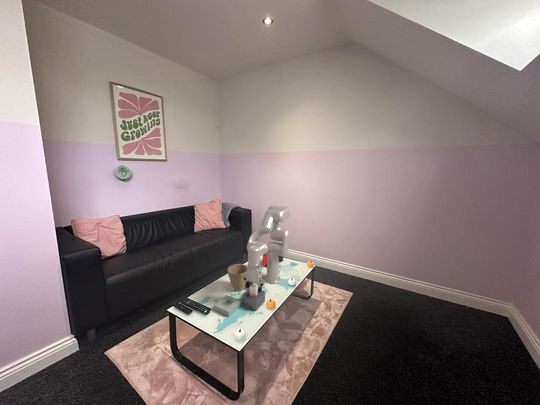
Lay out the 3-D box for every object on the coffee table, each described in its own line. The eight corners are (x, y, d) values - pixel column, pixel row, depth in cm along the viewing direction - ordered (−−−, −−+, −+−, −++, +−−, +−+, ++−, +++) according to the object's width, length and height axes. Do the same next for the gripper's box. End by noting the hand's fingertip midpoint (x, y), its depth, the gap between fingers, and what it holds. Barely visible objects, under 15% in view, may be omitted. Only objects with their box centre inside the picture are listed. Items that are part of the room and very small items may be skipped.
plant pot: (242, 280, 163) (242, 262, 160) (252, 290, 151) (252, 270, 149) (224, 287, 155) (224, 267, 152) (233, 297, 143) (233, 276, 140)
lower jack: (226, 299, 140) (226, 294, 140) (240, 305, 135) (240, 300, 134) (214, 310, 130) (213, 305, 130) (228, 317, 124) (228, 311, 124)
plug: (253, 292, 139) (253, 283, 137) (257, 294, 137) (257, 284, 136) (249, 296, 135) (249, 286, 134) (254, 297, 133) (254, 288, 132)
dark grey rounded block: (251, 296, 144) (251, 286, 143) (264, 301, 139) (265, 291, 138) (242, 305, 135) (241, 295, 134) (256, 311, 130) (256, 300, 128)
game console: (280, 257, 206) (280, 243, 203) (285, 259, 202) (286, 245, 199) (261, 267, 185) (261, 252, 182) (266, 270, 181) (267, 254, 178)
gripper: (268, 266, 131) (267, 290, 134) (246, 259, 139) (246, 283, 142) (262, 271, 125) (261, 296, 128) (239, 264, 133) (239, 288, 136)
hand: (253, 289), depth 135 cm, fingers open, 9 cm apart
